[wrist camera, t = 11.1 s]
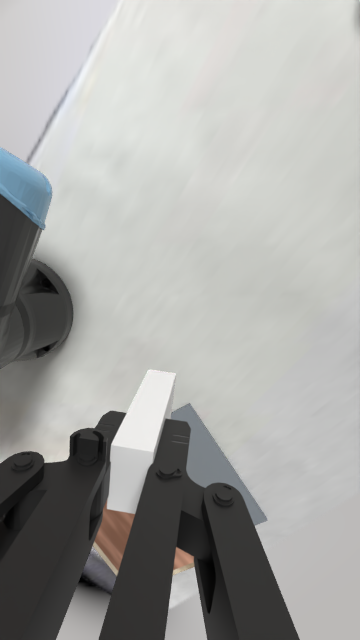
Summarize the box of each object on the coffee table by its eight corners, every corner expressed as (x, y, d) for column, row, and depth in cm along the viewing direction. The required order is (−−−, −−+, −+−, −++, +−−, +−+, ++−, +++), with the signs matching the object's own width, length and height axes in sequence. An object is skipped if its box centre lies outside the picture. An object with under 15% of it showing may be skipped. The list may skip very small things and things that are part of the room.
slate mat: (189, 403, 50) (189, 404, 50) (266, 518, 54) (267, 520, 53) (52, 475, 56) (51, 476, 56) (130, 573, 60) (129, 575, 60)
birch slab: (148, 468, 46) (62, 510, 50) (215, 559, 49) (129, 593, 52) (156, 441, 52) (79, 480, 56) (215, 524, 55) (138, 556, 58)
